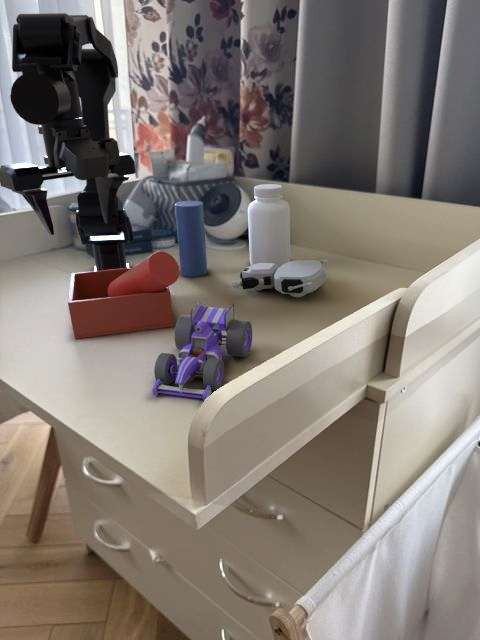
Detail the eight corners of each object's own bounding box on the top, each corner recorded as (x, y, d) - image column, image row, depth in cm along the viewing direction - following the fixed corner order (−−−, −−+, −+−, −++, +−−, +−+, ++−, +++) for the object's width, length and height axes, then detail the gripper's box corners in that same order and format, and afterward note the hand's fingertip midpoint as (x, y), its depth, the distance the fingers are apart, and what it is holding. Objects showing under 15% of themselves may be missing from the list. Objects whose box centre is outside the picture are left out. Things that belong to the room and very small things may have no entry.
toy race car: (141, 395, 64) (134, 346, 61) (188, 340, 77) (184, 297, 74) (218, 405, 62) (214, 354, 59) (253, 347, 75) (252, 303, 72)
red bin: (77, 305, 89) (71, 273, 87) (163, 295, 93) (160, 264, 90) (74, 339, 78) (67, 302, 76) (173, 326, 81) (170, 291, 79)
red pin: (114, 272, 86) (155, 244, 77) (140, 289, 89) (183, 263, 79) (102, 298, 84) (143, 272, 74) (130, 314, 86) (173, 291, 77)
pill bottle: (252, 257, 111) (250, 182, 104) (292, 258, 110) (292, 182, 103) (246, 270, 104) (243, 190, 97) (288, 271, 103) (288, 190, 96)
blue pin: (179, 269, 105) (173, 201, 99) (204, 267, 106) (200, 199, 100) (182, 278, 101) (176, 207, 95) (209, 275, 102) (205, 205, 96)
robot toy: (229, 302, 91) (316, 305, 87) (226, 277, 90) (315, 278, 85) (253, 279, 102) (331, 280, 97) (250, 255, 100) (331, 255, 95)
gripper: (17, 127, 65) (43, 253, 72) (149, 116, 76) (161, 226, 84) (-16, 122, 72) (11, 237, 80) (110, 113, 84) (123, 214, 91)
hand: (80, 228), depth 83 cm, fingers open, 9 cm apart
